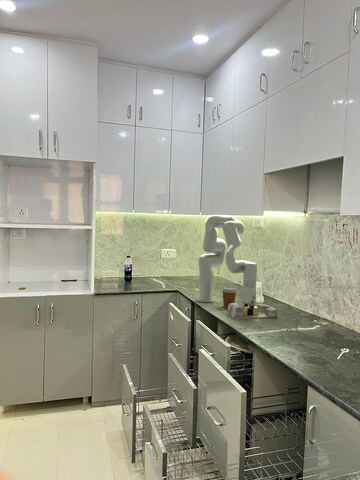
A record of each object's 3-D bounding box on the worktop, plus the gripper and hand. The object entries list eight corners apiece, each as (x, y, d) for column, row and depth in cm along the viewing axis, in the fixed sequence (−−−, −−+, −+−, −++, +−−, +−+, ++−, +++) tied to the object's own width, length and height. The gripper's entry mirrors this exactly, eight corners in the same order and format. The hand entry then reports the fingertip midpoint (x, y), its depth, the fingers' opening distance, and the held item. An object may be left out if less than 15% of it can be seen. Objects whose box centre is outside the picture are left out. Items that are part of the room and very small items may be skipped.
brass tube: (232, 313, 215) (232, 306, 214) (254, 312, 219) (254, 305, 219) (236, 315, 210) (236, 308, 210) (258, 314, 215) (258, 307, 215)
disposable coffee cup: (238, 306, 236) (239, 288, 235) (232, 309, 228) (233, 290, 227) (224, 304, 241) (225, 286, 240) (218, 307, 233) (219, 288, 232)
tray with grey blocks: (225, 313, 218) (225, 302, 218) (263, 311, 227) (264, 300, 226) (236, 319, 205) (236, 308, 205) (276, 317, 214) (277, 305, 213)
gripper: (237, 281, 221) (235, 310, 222) (251, 286, 205) (249, 318, 206) (248, 280, 223) (246, 310, 225) (263, 286, 207) (261, 317, 209)
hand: (248, 313), depth 215 cm, fingers closed on brass tube, 4 cm apart
